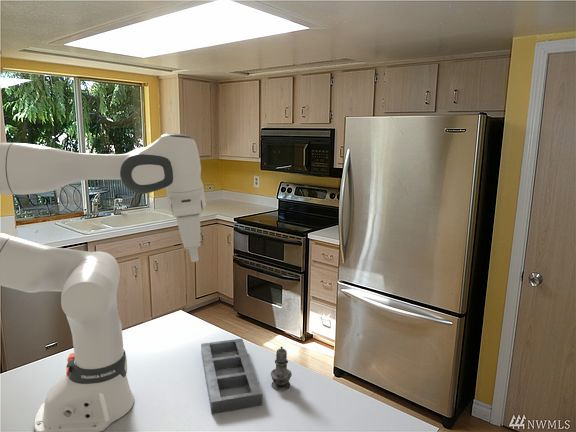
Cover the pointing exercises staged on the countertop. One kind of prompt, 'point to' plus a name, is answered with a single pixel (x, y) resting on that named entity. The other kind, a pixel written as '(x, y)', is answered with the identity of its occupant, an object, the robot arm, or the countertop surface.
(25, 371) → the countertop surface
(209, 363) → the grey rectangular frame piece
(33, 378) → the countertop surface
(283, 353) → the grey stone finial
